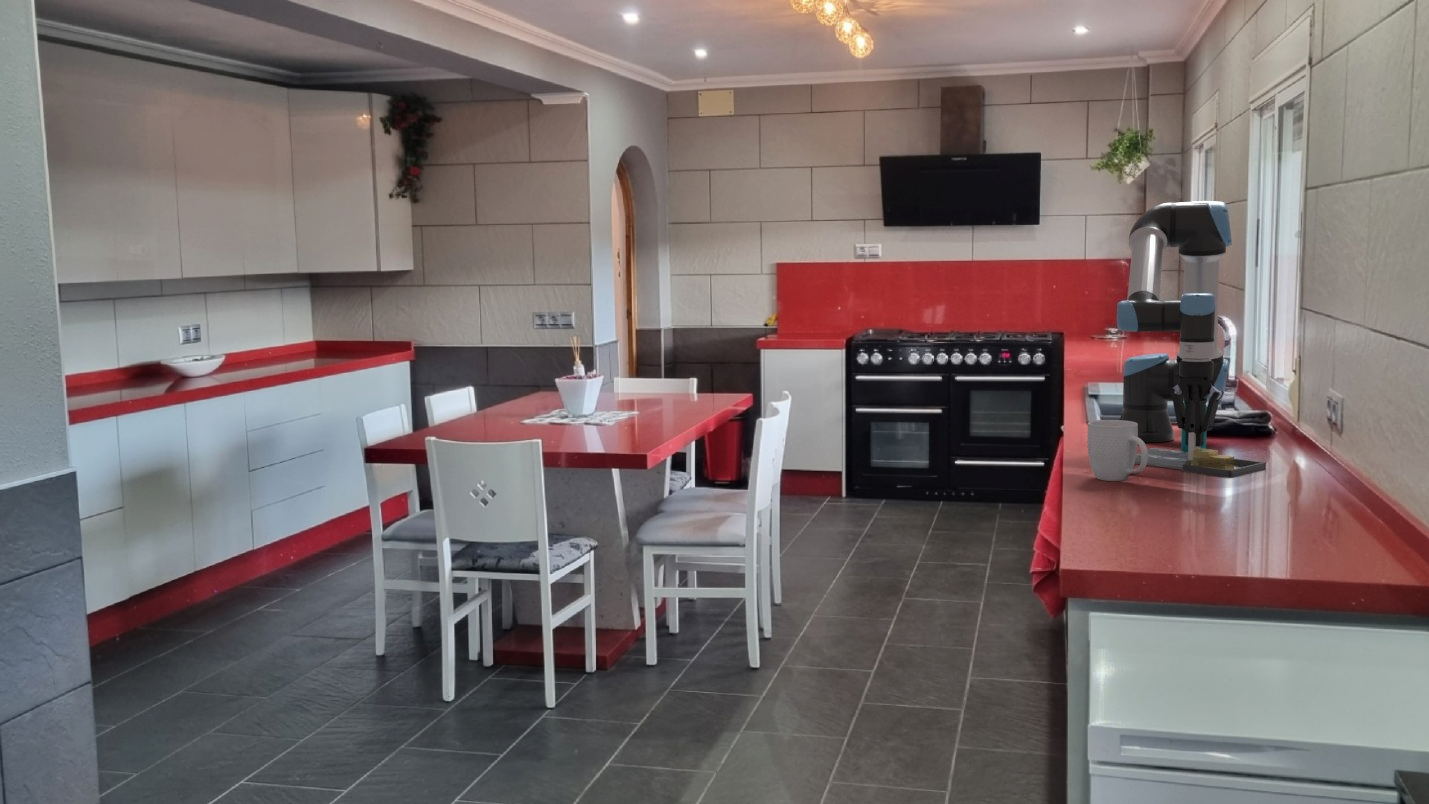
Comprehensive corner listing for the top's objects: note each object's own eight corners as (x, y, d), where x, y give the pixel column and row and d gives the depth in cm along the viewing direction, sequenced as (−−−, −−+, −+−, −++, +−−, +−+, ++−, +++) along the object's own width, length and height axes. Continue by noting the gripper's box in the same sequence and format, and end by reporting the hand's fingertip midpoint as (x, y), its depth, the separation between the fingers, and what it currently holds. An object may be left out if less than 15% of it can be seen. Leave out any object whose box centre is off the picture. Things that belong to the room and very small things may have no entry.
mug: (1161, 481, 279) (1162, 424, 277) (1130, 487, 273) (1131, 429, 271) (1107, 472, 291) (1108, 418, 290) (1076, 478, 285) (1077, 422, 284)
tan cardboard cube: (1217, 471, 286) (1218, 454, 286) (1233, 473, 283) (1234, 456, 283) (1208, 473, 284) (1208, 456, 284) (1224, 475, 281) (1225, 458, 280)
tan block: (1201, 465, 289) (1202, 448, 289) (1217, 467, 286) (1218, 450, 286) (1192, 467, 287) (1192, 450, 287) (1208, 469, 284) (1208, 452, 283)
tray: (1217, 468, 292) (1217, 456, 292) (1265, 475, 283) (1265, 462, 283) (1182, 477, 283) (1182, 464, 283) (1230, 484, 274) (1230, 470, 274)
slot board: (1153, 461, 304) (1153, 447, 304) (1213, 469, 292) (1213, 455, 291) (1124, 467, 297) (1125, 453, 296) (1185, 476, 284) (1185, 461, 284)
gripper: (1162, 359, 289) (1160, 458, 291) (1213, 362, 278) (1210, 465, 281) (1180, 357, 293) (1178, 454, 296) (1231, 360, 283) (1228, 461, 286)
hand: (1194, 459), depth 289 cm, fingers closed
